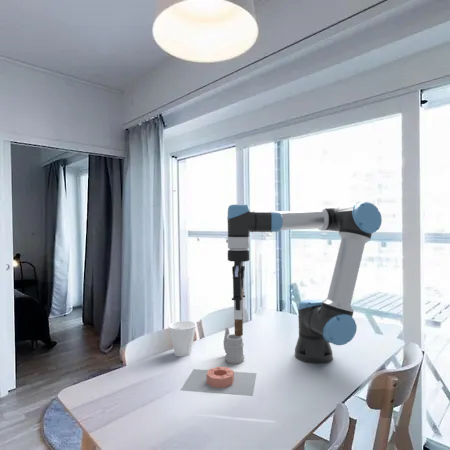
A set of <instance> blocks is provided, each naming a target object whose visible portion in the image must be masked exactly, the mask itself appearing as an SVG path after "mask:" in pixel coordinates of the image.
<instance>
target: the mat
mask: <svg viewBox="0 0 450 450" xmlns="http://www.w3.org/2000/svg"><path fill="white" fill-rule="evenodd" d="M208 370H209V369H199V368H198V369H197V368H193V369H192V371H191V373H190V374H189V375H188V377H187V379H186V380H185V382H184V384H183V385H182V387H181V389H180V391H183V392H184V391H187V392H198V393H199V392H200V393H210V394H223V395H224V394H225V395H238V396H239V395H240V396H251V397H253V395H254V390H255V385H256V380H257V372H243V371H234V381H233V384H232V385H230V386H227V387H225V388H217V387H212V386H210V385H209V384H208V383H207V372H208Z"/></svg>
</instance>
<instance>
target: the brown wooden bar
mask: <svg viewBox="0 0 450 450" xmlns="http://www.w3.org/2000/svg"><path fill="white" fill-rule="evenodd" d="M243 292H244V288H242V320H240V319H234V335H235V336H242V337H243V336H244V335H243V334H244V329H243V327H244V325H243V323H244V321H243V319H244V318H243V317H244V297H243V295H244V294H243Z"/></svg>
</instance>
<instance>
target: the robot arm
mask: <svg viewBox="0 0 450 450" xmlns="http://www.w3.org/2000/svg"><path fill="white" fill-rule="evenodd" d="M226 217H227V218H226V219H227V239H226V240H225V242H226V243H227V248H228V250H227V261H229V262H233V266H232V268H231V271H232V273H231V274H232V294H233V296H232V298H231V301H233V320H235V319H240V320H242V288H243V289H244V279H245V270H246V268H245V265H243V263H244V262H249V261H250V250H249V249H251V248H250V242H251V241H250V237H251V236H250V234H251V233H277V232H280V231H287V230H288V231H293V230H309V229H310V230H312V229H313V230H314V229H318V230H320V231H324V232H325V231H329V232H331V231H332V232H338V235H339V236H340V238H341V240H340V245H339V249H338V252H337V257H336V261H335V265H334V269H333V274H332V277H331V282H330V285H329V290H328V293H327V298H326V299H305V300H301V301H299V303H298V307H297V311H298V315H297V316H298V338H297V341H296V345H295V348H294V356H295V357H296V358H297V359H299V361H300V360H301V361H303V362H307V363H311V364H324V363H328V362H331V361H332V360H333V355H334V353H333V350H332V347H331V344H332V345H336V346H345V345H346V344H347V343H350V342H351V341H352V340H353V339H354V337H355V335H356V333H357V323H356V320H355V319H354V317H353V315H354V309H353V308H352V305H351V304H352V300H353V296H354V292H355V287H356V283H357V280H358V275H359V270H360V266H361V263H362V262H361V261H362V258H363V253H364V251H365V245H366V244H367V243H368V242H370V241H371V239H372V235H373V234H374V233H376V232H377V231H379V230H380V228H381V226H382V220H383V219H382V214H381V212H380V210H379V208H378V207H377V206H376V205H375V204H373V203H372V202H367V201H365V202H363V201H359V202H353V203H342V204H339V205H334V206H328V207H319V208H318V209H317V210H316V209H315V210H290V211H289V210H288V211H287V210H286V211H278V210H251V209H250V206H249V204H244V203H243V204H242V203H241V204H239V203H237V204H230V205H229V206H228V208H227V216H226ZM243 298H246V294H245V291H243Z"/></svg>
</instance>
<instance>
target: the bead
mask: <svg viewBox="0 0 450 450" xmlns="http://www.w3.org/2000/svg"><path fill="white" fill-rule="evenodd" d="M207 370H208V372H207V383H208V384H209V385H210V386H212V387H217V388H225V387H227V386H230V385H232V384H233V381H234V372H235V371H234V370H233V369H231V368H229V367H228V366H216V367H212V368H209V369H207Z"/></svg>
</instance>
